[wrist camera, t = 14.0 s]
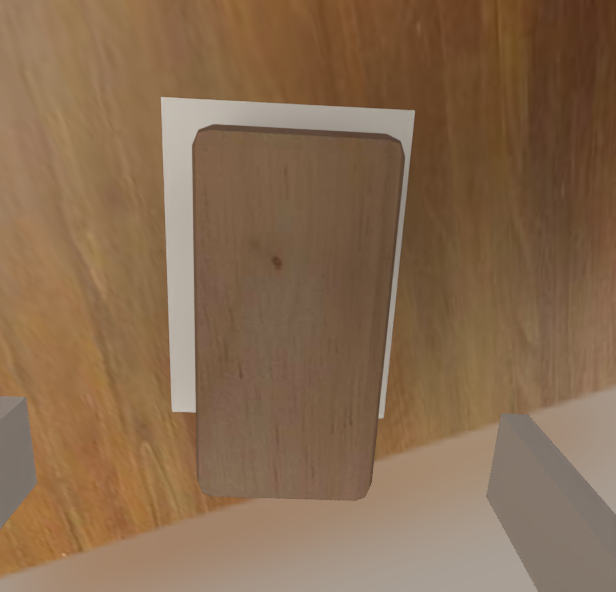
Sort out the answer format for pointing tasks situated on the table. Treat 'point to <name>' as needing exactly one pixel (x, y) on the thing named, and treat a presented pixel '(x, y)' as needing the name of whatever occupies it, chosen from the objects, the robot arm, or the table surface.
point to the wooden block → (291, 306)
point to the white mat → (179, 203)
